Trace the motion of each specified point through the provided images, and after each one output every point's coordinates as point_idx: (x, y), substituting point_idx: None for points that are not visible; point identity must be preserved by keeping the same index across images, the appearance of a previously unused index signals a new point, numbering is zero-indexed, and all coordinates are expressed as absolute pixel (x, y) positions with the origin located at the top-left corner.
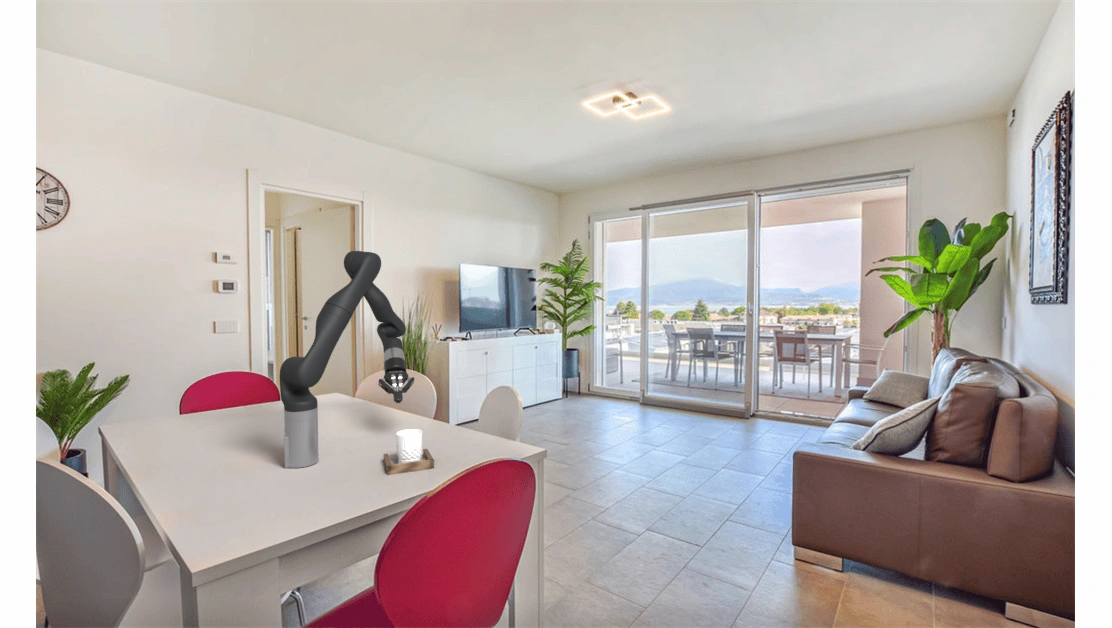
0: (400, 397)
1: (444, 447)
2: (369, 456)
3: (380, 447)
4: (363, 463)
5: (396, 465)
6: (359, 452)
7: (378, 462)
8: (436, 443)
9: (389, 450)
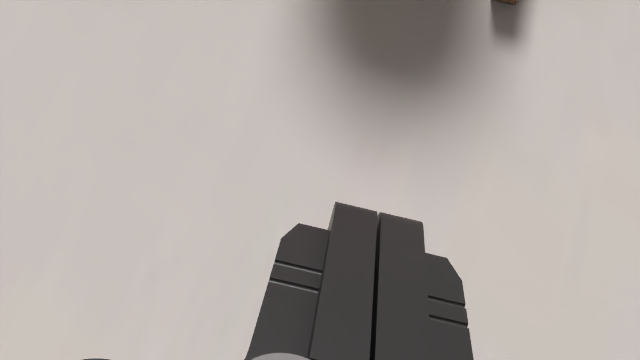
0: (337, 224)
1: (57, 28)
2: (570, 163)
3: None
4: (627, 54)
5: None
6: (617, 299)
7: (543, 16)
8: (50, 153)
9: (417, 208)
